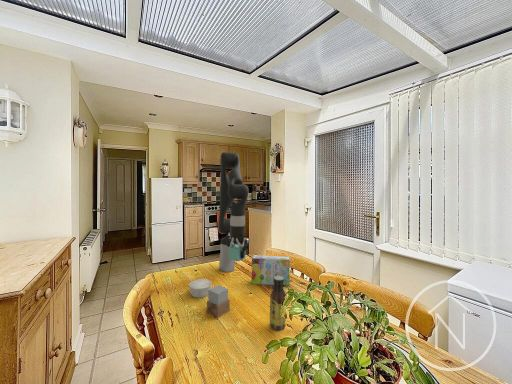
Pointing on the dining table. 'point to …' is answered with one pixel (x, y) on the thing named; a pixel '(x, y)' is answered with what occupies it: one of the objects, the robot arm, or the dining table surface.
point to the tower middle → (218, 295)
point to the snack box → (270, 269)
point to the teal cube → (235, 253)
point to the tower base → (218, 308)
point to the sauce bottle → (277, 304)
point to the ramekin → (200, 287)
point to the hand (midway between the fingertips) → (237, 256)
